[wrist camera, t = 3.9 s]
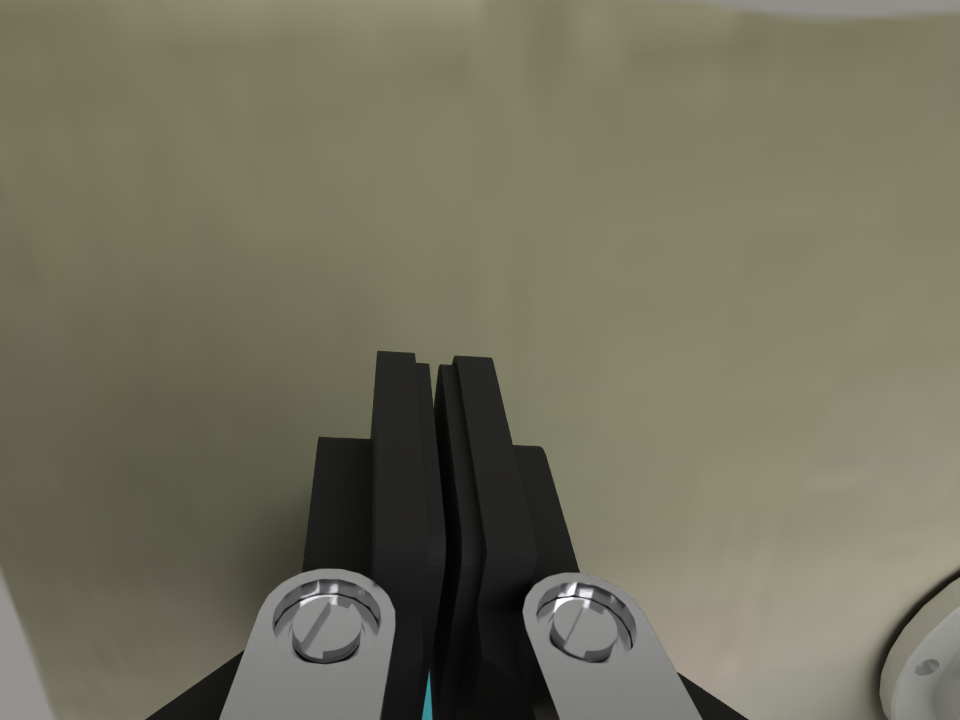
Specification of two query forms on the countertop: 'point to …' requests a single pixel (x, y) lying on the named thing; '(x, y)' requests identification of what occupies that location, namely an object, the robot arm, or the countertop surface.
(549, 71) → the countertop surface
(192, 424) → the countertop surface
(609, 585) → the robot arm
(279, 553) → the countertop surface
